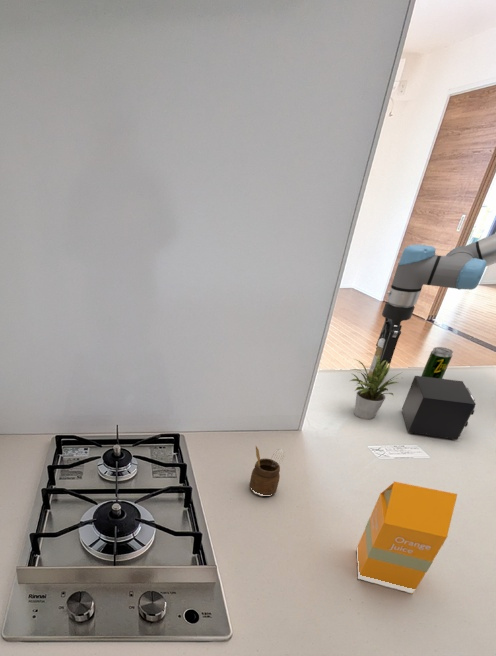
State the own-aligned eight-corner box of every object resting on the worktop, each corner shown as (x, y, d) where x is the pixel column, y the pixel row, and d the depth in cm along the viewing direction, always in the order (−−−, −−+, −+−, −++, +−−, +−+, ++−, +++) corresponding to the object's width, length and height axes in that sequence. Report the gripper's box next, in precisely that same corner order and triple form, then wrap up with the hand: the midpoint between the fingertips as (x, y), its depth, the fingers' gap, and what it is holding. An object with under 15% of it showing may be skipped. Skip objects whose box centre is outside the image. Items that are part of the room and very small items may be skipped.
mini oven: (450, 417, 121) (468, 381, 115) (462, 442, 111) (482, 405, 105) (400, 410, 125) (415, 375, 118) (407, 434, 115) (423, 397, 109)
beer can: (413, 383, 138) (428, 347, 131) (428, 381, 138) (443, 346, 131) (426, 391, 133) (442, 354, 126) (441, 389, 134) (458, 352, 127)
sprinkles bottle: (384, 382, 139) (399, 342, 131) (370, 383, 139) (384, 343, 131) (376, 376, 142) (390, 337, 135) (363, 377, 142) (376, 337, 135)
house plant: (332, 397, 132) (347, 346, 123) (382, 402, 129) (402, 350, 119) (338, 422, 121) (355, 367, 111) (394, 428, 117) (416, 372, 108)
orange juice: (355, 549, 84) (390, 467, 72) (408, 562, 81) (453, 479, 69) (357, 580, 78) (395, 497, 66) (413, 595, 75) (464, 511, 64)
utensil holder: (280, 497, 97) (291, 453, 90) (252, 499, 96) (261, 455, 89) (270, 480, 101) (280, 437, 94) (244, 482, 101) (252, 439, 94)
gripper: (382, 293, 135) (360, 361, 148) (389, 313, 120) (364, 387, 133) (409, 295, 133) (385, 364, 146) (421, 315, 118) (392, 391, 131)
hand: (375, 375), depth 140 cm, fingers open, 7 cm apart
